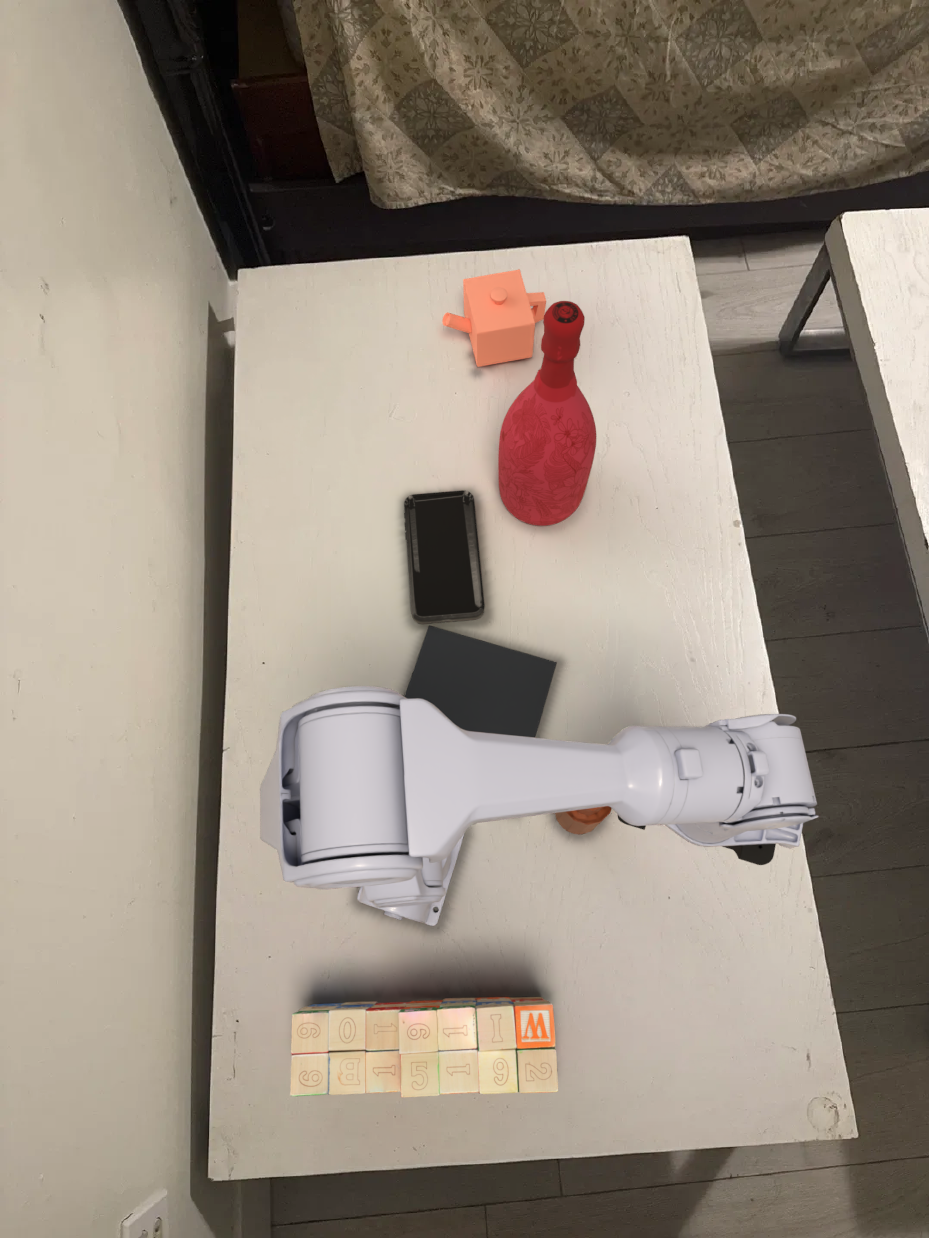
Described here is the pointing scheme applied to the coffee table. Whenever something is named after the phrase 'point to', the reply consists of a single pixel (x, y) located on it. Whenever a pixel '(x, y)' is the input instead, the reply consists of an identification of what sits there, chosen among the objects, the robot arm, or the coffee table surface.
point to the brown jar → (582, 819)
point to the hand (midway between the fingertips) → (680, 820)
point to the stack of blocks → (425, 1047)
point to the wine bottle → (549, 430)
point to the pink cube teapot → (499, 317)
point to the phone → (443, 557)
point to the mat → (481, 683)
